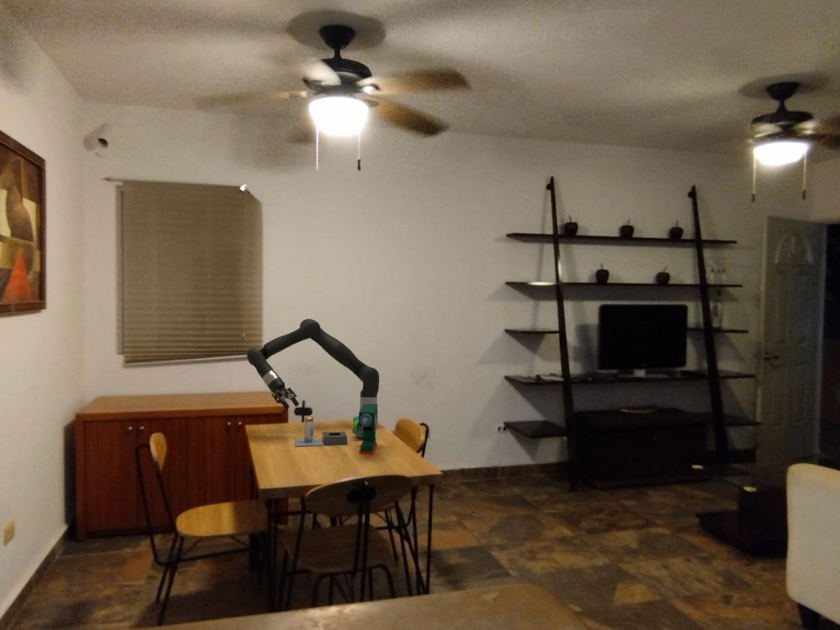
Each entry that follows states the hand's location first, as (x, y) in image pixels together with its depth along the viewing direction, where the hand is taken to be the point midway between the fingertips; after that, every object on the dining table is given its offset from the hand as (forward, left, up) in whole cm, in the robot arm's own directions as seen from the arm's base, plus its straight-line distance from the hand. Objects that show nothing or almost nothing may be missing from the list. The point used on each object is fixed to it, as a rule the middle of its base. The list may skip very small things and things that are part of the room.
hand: (293, 406), depth 304 cm
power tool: (-33, +27, -17) cm, 46 cm away
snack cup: (-35, -3, -17) cm, 39 cm away
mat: (-8, +5, -17) cm, 19 cm away
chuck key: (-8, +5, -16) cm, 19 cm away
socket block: (-20, +5, -17) cm, 27 cm away
